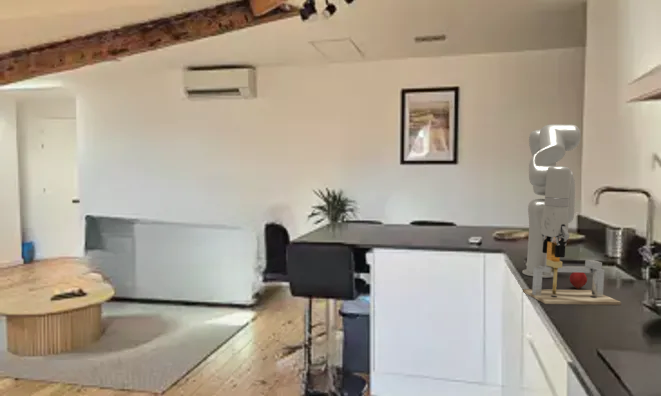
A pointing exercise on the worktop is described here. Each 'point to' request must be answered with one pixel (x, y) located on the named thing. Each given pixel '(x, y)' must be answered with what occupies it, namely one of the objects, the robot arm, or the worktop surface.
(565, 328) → the worktop surface
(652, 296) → the worktop surface
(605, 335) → the worktop surface
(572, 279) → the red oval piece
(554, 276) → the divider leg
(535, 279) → the grey arch frame
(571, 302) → the bolt plate
